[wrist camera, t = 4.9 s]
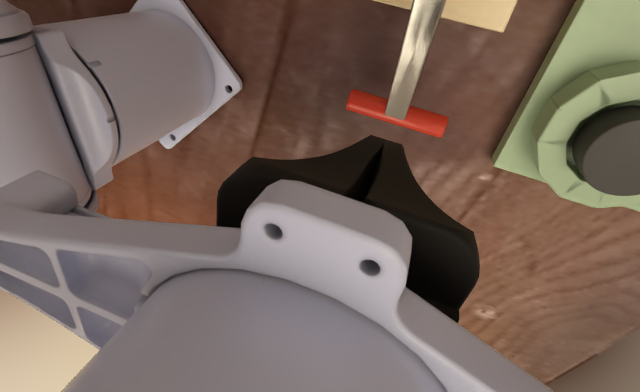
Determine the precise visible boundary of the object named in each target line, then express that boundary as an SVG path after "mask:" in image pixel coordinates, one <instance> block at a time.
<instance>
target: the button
mask: <svg viewBox="0 0 640 392" xmlns="http://www.w3.org/2000/svg"><path fill="white" fill-rule="evenodd" d="M572 156H573V159H574V161H575V163H576V165H577V167H578V168H579V170H580V172H581V174H582V175H583V177H584V179H585V180H586V181H587V183H588V184H589V185H590V186H592V187H593V188H595V189H596V190H598V191H600V192H603V193H606V194H610V195H616V196H633V195H639V194H640V106H637V105H630V106H621V107H617V108H613V109H610V110H607V111H605V112H602V113H600V114H598V115H597V116H595V117H594V118H592V119H591V120H589V121H588V122H587V123H586V124H585V125H584V126H583V127H582V128H581V129H580V131H579V132H578V133H577V135H576V137H575V139H574V142H573V146H572Z"/></svg>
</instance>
